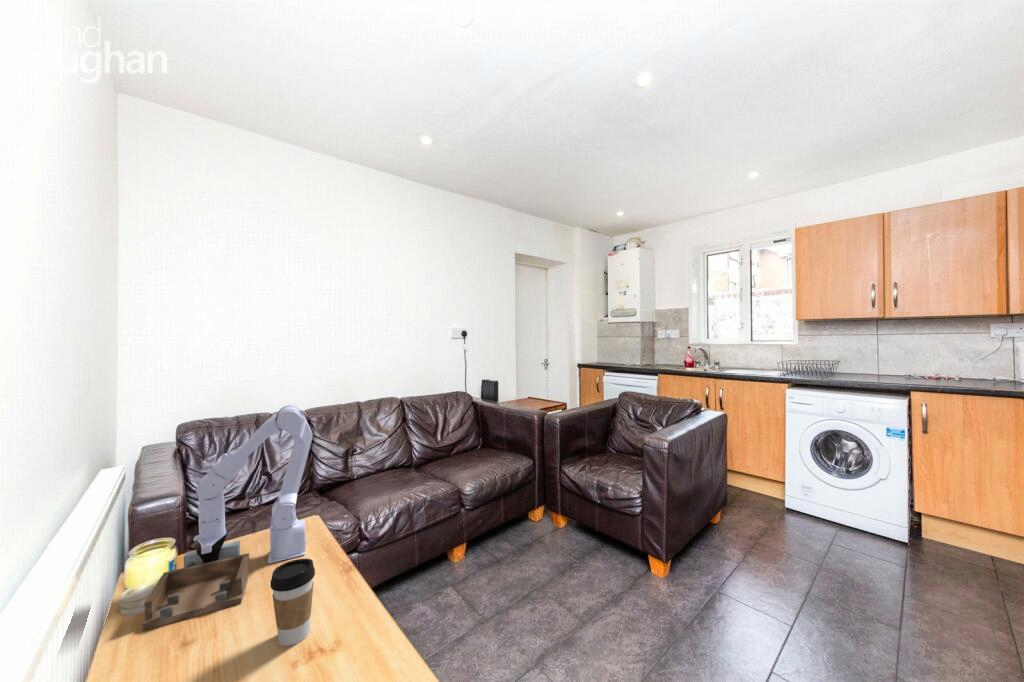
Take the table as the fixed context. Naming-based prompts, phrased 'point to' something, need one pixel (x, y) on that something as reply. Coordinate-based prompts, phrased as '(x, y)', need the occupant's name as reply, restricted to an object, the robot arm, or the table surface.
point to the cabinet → (197, 591)
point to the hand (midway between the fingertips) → (213, 566)
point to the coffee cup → (293, 600)
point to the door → (225, 552)
